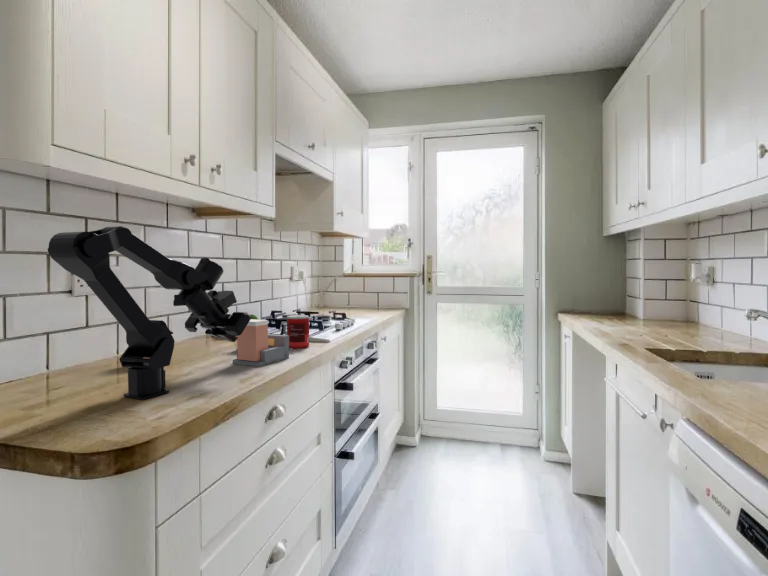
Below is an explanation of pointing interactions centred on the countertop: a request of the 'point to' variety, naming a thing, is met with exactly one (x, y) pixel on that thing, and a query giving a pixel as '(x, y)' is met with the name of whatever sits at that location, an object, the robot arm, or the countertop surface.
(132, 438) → the countertop surface
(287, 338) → the housing
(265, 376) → the countertop surface
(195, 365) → the countertop surface
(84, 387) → the countertop surface
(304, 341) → the canned food
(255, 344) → the pink white rectangular block
